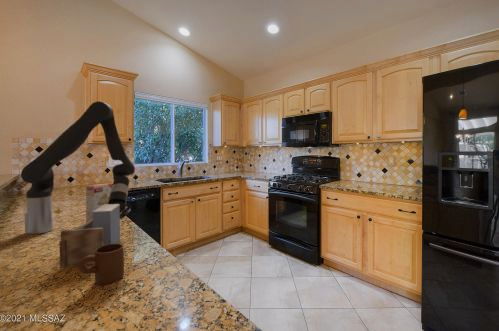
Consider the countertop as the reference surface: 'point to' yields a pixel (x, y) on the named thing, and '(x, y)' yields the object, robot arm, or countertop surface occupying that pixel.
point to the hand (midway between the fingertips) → (112, 226)
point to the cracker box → (96, 197)
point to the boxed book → (108, 222)
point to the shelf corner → (79, 244)
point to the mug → (105, 264)
